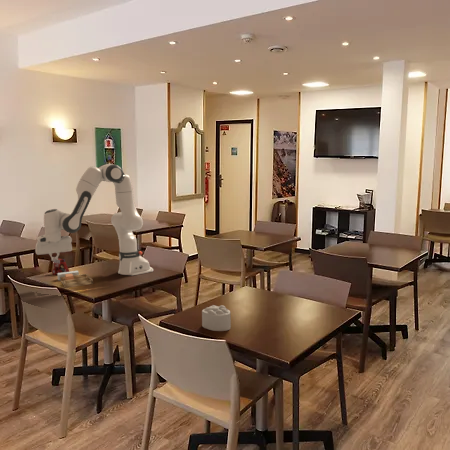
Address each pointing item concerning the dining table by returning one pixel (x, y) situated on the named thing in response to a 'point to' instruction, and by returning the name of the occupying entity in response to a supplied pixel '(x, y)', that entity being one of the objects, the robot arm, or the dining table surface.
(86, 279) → the jig
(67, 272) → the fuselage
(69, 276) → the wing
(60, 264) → the toy fire truck
